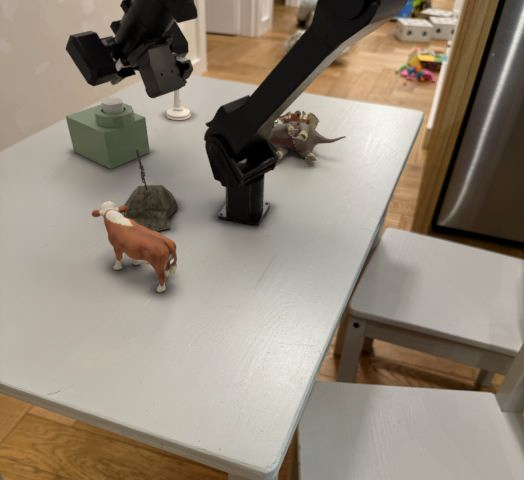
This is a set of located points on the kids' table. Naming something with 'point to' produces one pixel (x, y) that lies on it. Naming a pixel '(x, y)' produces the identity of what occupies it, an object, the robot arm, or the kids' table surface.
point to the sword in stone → (150, 204)
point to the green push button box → (108, 135)
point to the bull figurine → (138, 242)
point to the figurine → (297, 135)
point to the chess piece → (178, 109)
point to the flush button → (112, 105)
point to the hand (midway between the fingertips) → (112, 82)
